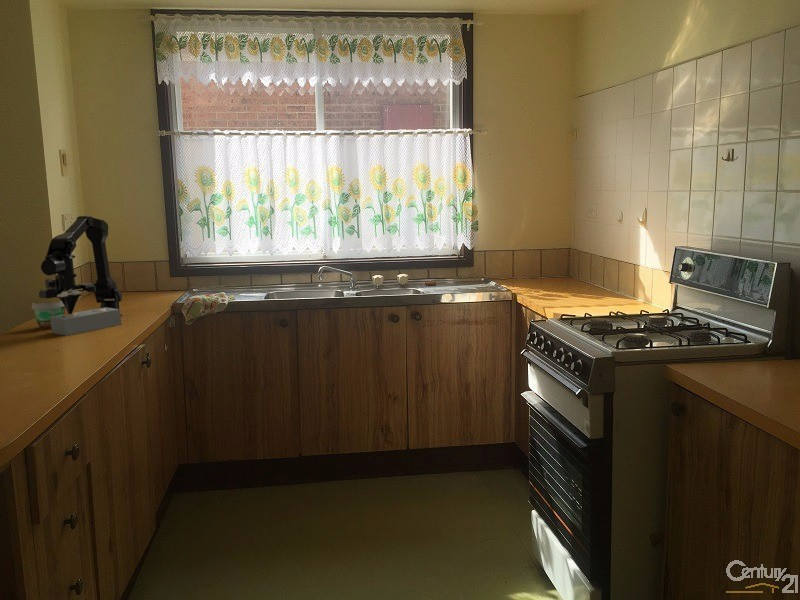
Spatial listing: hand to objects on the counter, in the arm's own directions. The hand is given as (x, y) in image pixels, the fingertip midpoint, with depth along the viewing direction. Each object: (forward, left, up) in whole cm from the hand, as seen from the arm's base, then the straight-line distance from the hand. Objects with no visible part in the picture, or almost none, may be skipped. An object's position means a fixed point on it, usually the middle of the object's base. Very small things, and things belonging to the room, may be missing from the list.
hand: (70, 313), depth 263 cm
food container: (+1, -15, -7) cm, 17 cm away
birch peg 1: (0, 0, -6) cm, 6 cm away
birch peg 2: (-12, 0, -7) cm, 14 cm away
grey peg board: (-6, 0, -7) cm, 9 cm away
